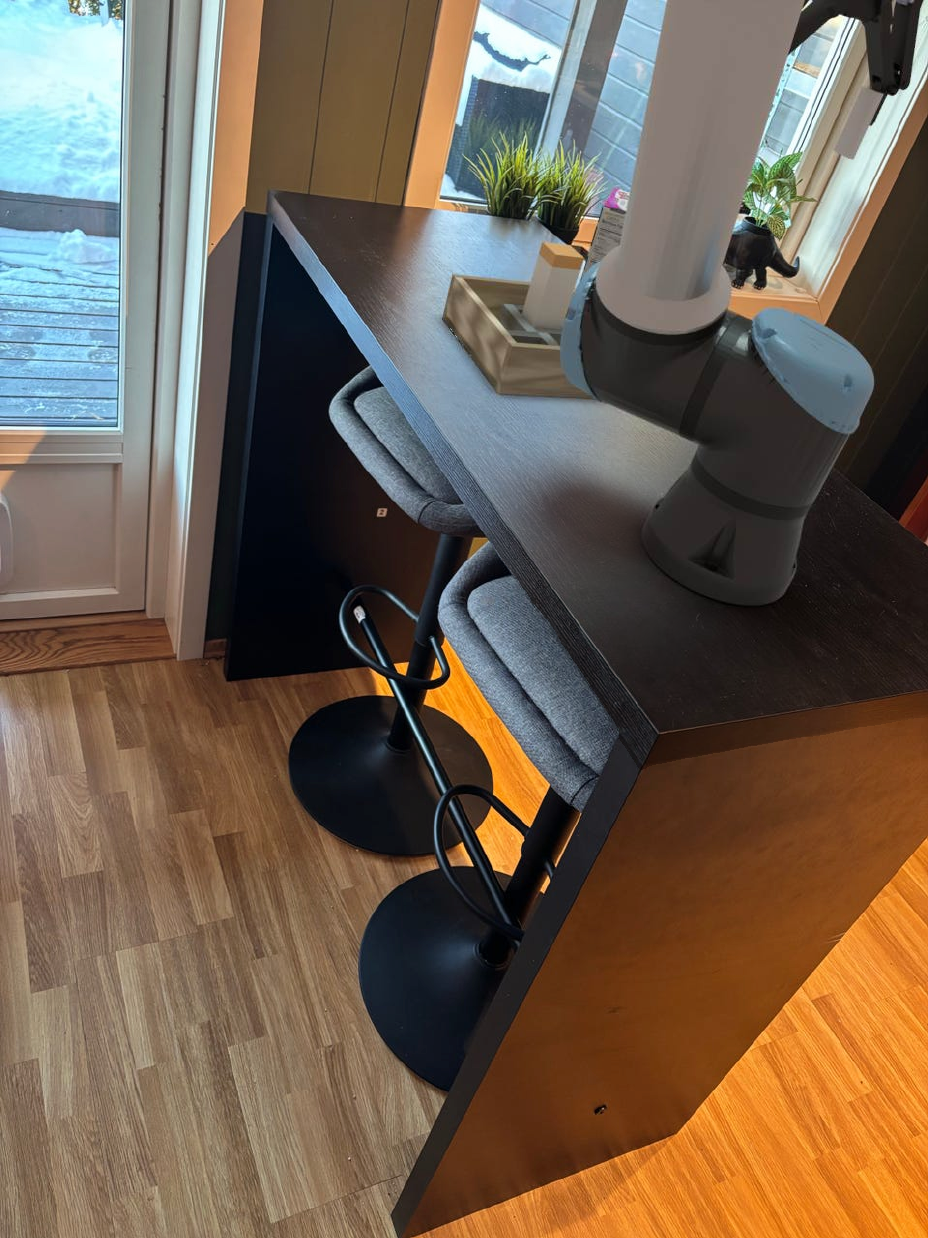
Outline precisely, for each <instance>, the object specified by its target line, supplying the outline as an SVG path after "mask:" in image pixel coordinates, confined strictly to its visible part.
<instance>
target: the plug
mask: <svg viewBox="0 0 928 1238" xmlns="http://www.w3.org/2000/svg"><path fill="white" fill-rule="evenodd" d="M584 259H585V257H583V255H581V253H579V251H577V250H576V249H575V248H574V247H573V246H572V245H570V244H563V243H557V242H556V243H555V242H546V241H542V242H541V245H540V248H539V251H538V256H537V259H536V262H535V266H534V269H533V273H532V276H531V280H530V282H531V283H530V286H529V290H528V293H527V297H526V300H525V304H524V307H523V311H522V315H523V316H524V318H525V319H526V320H527V321H528V322H529V323H530V324H531V325H532V327H541V328H553V329H562V326H563V323H564V320H565V317H566V314H567V311H568V307H569V304H570V301H571V298H572V295H573V292H574V288H575V289H576V284H577V281H578V279H579V276H580V272H581V269H582V266H583V262H584Z"/></svg>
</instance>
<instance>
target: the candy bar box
mask: <svg viewBox="0 0 928 1238" xmlns="http://www.w3.org/2000/svg"><path fill="white" fill-rule="evenodd" d="M629 195H630V191H627V190H626V191H625V190H624V189H622V188H617V187H614V188H613V189H612V190H611V193H610V194H609V196H608V197H607V198H606V200H605V201H604V203H603V204H602V207H601V209H600V210H601V211H600V213H599V217H598V220H597V223H596V227H595V229H594V232H593V236H592V240H591V243H590V247H589V249H588V252H587V256H586V259H585V263H584V267H583V268H582V269H583V270H582V272H581V276H580V279H579V281H580V280H581V279H582V277H583V276H584V275H585V273H586V272H587V271H588V270H589V269H590V268H591V267H592V266H593V265H594V264H596V263H598V262H599V261H602V259H603V258H604V257H605V256H606V255H607V254H608V253H609V252H610V251H611V250H613V249H614V248H615V247H617V246H619V245H620V242H621V236H622V231H623V226H624V221H625V216H626V210H627V205H628V200H629Z"/></svg>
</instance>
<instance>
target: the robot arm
mask: <svg viewBox="0 0 928 1238" xmlns="http://www.w3.org/2000/svg"><path fill="white" fill-rule="evenodd" d="M809 1H810V0H666V3H665V9H664V14H663V19H662V24H661V30H660V34H659V35H660V36H659V40H658V44H657V50H656V54H655V55H656V56H655V61H654V64H653V65H654V66H653V71H652V75H651V81H650V85H649V91H648V98H647V102H646V107H645V113H644V118H643V122H642V123H643V124H642V127H641V131H640V132H641V134H640V139H639V144H638V149H637V153H636V154H637V155H636V158H635V165H634V170H633V175H632V179H631V185H630V190H629V192H630V195H629V200H628V205H627V210H626V216H625V221H624V226H623V231H622V236H621V242H620V245H619V246H617V247H615V248H614V249H613V250H611V251H610V252H609V253H608V254H607V255H606V256H605V257H604V258H603V259H602V261H599V262H598V263H596V264H594V265H593V266H592V267H591V268H590V269H589V270H588V271H587V272H586V273H585V275H584V276H583V277H582V279H581V278H580V279H581V280H580V279H579V283H578V284H577V286H576V287H575V292H574V294H573V296H572V299H571V301H570V304H569V313H568V316H567V318H566V319H565V320H564V323H563V328H562V334H561V342H560V359H561V365H562V369H563V372H564V374H565V376H566V378H567V379H568V380H569V382H570V383H571V384H573V385H574V386H575V387H577V388H579V389H581V390H583V391H584V392H586V393H588V394H590V395H591V396H592V397H593V398H594V399H595V400H596V401H598V402H600V403H604V404H607V405H609V406H612V407H615V408H617V409H618V410H620V411H623V412H625V413H627V414H630V415H632V416H635V417H636V418H639V419H641V420H642V421H643V420H644V421H645V422H647V423H650V424H652V425H655V426H657V427H658V428H661V429H663V430H665V431H668V432H669V433H672V434H674V435H676V436H679V437H681V438H683V439H685V440H687V441H689V442H691V443H694V444H696V445H697V447H696V451H695V454H694V455H693V458H692V460H691V462H690V464H689V466H688V468H687V469H686V470H685V471H684V472H683V474H681V475H680V477H678V479H677V480H676V481H675V482H674V483H673V484H672V486H671V487H670V488H669V489H668V491H667V492H665V494H664V497H662V498H660V499H659V500H657V501H656V502H655V504H654V505H653V506H652V507H651V508H650V511H649V512H648V514H647V517H646V520H645V522H644V524H643V526H642V529H641V534H640V536H641V543H642V545H643V547H644V550H645V552H646V553H647V555H648V556H649V558H650V559H651V560H652V561H653V563H655V564H656V565H657V567H659V569H660V570H662V572H664V573H665V574H667V575H668V576H669V577H670V578H672V579H673V580H674V581H676V582H678V583H679V584H680V585H682V586H684V587H686V588H688V589H690V590H692V591H694V592H695V593H698V594H701V595H702V596H705V597H707V598H710V599H713V600H716V601H719V602H723V603H727V604H732V605H739V606H749V607H750V606H763V605H768V604H771V603H774V602H776V601H778V600H779V599H780V598H781V597H783V596H784V595H785V593H786V591H787V589H788V587H789V586H790V584H791V582H792V580H793V579H794V577H795V575H796V571H797V565H798V559H797V553H798V549H799V546H800V542H801V539H802V534H803V529H804V523H805V522H804V521H805V519H806V516H807V515H808V513H809V510H810V509H811V507H812V505H813V503H814V501H815V500H816V498H817V496H818V495H819V493H820V491H821V489H822V487H823V485H824V483H826V482H825V481H826V480H827V478H828V476H829V474H830V472H831V471H832V468H833V467H834V466H835V463H836V461H837V459H838V457H839V456H840V453H842V452H841V451H842V450H843V448H844V446H845V445H846V442H847V440H848V439H849V437H850V435H851V434H854V433H855V431H856V430H857V429H858V427H859V425H860V421H861V420H860V419H861V417H862V414H863V412H864V411H865V408H866V406H867V404H868V402H869V401H870V398H871V396H872V393H873V391H874V387H875V377H874V373H873V370H872V367H871V365H870V363H869V362H868V361H867V360H866V358H865V357H864V356H863V354H861V352H860V351H859V350H858V349H857V348H856V347H855V346H853V344H852V343H851V342H849V341H848V340H846V339H845V338H844V337H843V336H841V335H840V334H838V333H836V332H835V331H833V330H832V329H831V328H829V327H827V326H826V325H824V324H822V323H820V322H818V321H817V320H814V319H812V318H810V317H808V316H806V315H804V314H801V313H798V312H794V313H793V312H792V311H789V310H787V309H785V308H782V307H781V308H780V307H767V308H762V310H760V311H759V312H758V313H757V314H755V315H754V317H753V318H752V319H750V318H748V317H746V316H744V315H742V314H740V313H737V312H735V311H732V310H730V309H729V305H730V302H731V299H732V291H733V289H732V281H731V277H730V276H729V273H728V272H727V270H726V268H725V267H724V266H723V265H724V262H725V258H726V255H727V252H728V248H729V246H730V242H731V239H732V235H733V232H734V229H735V226H736V223H737V219H738V216H739V213H740V211H741V206H742V204H743V203H742V202H743V201H744V197H745V193H746V190H747V188H748V184H749V182H750V181H749V180H750V177H751V174H752V172H753V167H754V165H755V161H756V158H757V156H758V153H759V149H760V145H761V142H762V139H763V136H764V134H765V133H764V132H765V130H766V125H767V122H768V120H769V117H770V113H771V111H772V106H773V103H774V100H775V97H776V94H777V91H778V87H779V85H780V81H781V78H782V77H783V73H784V71H785V70H784V68H785V66H786V62H787V60H788V59H787V58H788V57H789V56H790V55H791V54H792V53H793V52H795V50H797V49H798V47H800V46H801V45H802V44H803V43H805V41H807V40H808V39H809V38H811V36H812V35H814V33H816V32H817V31H818V30H819V29H821V28H822V27H823V26H824V25H825V24H826V23H827V22H828V21H829V20H831V19H834V18H837V17H839V16H842V17H845V18H847V19H855V20H857V21H860V22H861V24H862V26H863V27H864V33H865V45H866V54H867V57H866V58H867V63H868V64H867V65H868V75H869V78H868V79H869V85H870V87H868V86H864V85H862V86H861V87H860V90H859V91H858V94H857V96H856V98H855V102H854V103H853V106H852V107H851V110H850V111H849V115H848V117H847V118H846V121H845V123H844V125H843V128H842V130H841V132H840V135H839V137H838V139H837V141H836V144H835V145H834V148H833V150H832V151H833V152H835V153H837V154H839V155H841V156H843V157H845V158H846V159H849V160H853V161H854V159H855V157H856V156H857V153H858V151H859V148H860V147H861V144H862V142H863V140H864V138H865V135H866V134H867V132H868V129H869V127H872V125H874V123H875V122H876V120H877V118H878V115H879V114H880V111H881V109H882V107H883V105H884V103H885V101H886V99H887V97H888V96H891V97H894V96H896V95H897V94H898V92H899V91H905V90H907V89H908V88H909V87H910V85H911V80H912V79H911V78H912V71H913V65H914V58H915V50H916V44H917V43H916V42H917V37H918V30H919V24H920V23H919V21H920V15H921V8H922V6H923V3H924V1H925V0H896V1H895V4H894V8H893V2H894V0H811V3H810V4H808V3H809ZM807 4H808V5H807ZM806 5H807V6H806Z"/></svg>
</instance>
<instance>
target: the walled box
mask: <svg viewBox="0 0 928 1238" xmlns="http://www.w3.org/2000/svg"><path fill="white" fill-rule="evenodd" d="M530 283H531V281H530V282H529V281H521V280H511V279H502V278H495V277H494V278H492V277H484V276H483V277H482V276H472V275H466V274H465V275H464V274H457V273H456V274H455V273H452V275H451V279H450V283H449V287H448V290H447V291H448V293H447V297H446V300H445V304H444V308H443V309H444V310H443V311H442V312H443V313H442V317H441V319H442V318H443V319H442V321H443V320H444V321H445V322H446V323H445V322H444V321H443V322H444V323H445V324H447V325H448V326H449V327H450V328H451V329H452V331H453V332H454V334H455V335H456V336H457V338H458V339H459V340H460V342H461V343H462V344H463V346H464V347H465V348H464V347H463V346H462V347H463V348H464V350H465V349H466V350H467V351H466V350H465V351H466V353H467V354H468V353H469V354H470V355H471V356H470V355H469V354H468V355H469V356H470V358H471V357H472V358H471V359H472V360H473V362H474V361H475V362H474V363H475V364H476V365H477V368H479V370H480V371H481V373H482V374H483V375H484V376H485V378H486V379H487V380H488V382H489V383H490V384H491V386H492V387H493V388H494V390H495V391H496V393H497V394H499V395H512V396H513V395H516V396H533V397H553V398H554V397H555V398H569V399H570V398H574V399H594V398H593V397H592V396H591V395H590V394H588V393H586V392H584V391H583V390H581V389H579V388H577V387H575V386H574V385H573V384H571V383H570V382H569V380H568V379H567V378H566V376H565V374H564V372H563V369H562V365H561V359H560V342H561V334H562V329H553V328H541V327H532V325H531V324H530V323H529V322H528V321H527V320H526V319H525V318H524V316H523V315H522V311H523V307H524V304H525V300H526V297H527V293H528V290H529V286H530ZM575 289H576V287H575V288H574V292H575ZM574 292H573V294H574ZM572 296H573V295H572ZM571 299H572V298H571ZM568 313H569V307H568V311H567V314H566V317H565V319H566V318H567V316H568ZM447 325H446V326H447ZM448 326H447V327H448ZM449 327H448V328H449ZM562 328H563V326H562ZM452 331H451V332H452ZM454 334H453V335H454ZM455 335H454V336H455ZM457 338H456V339H457ZM458 339H457V340H458ZM460 342H459V343H460ZM461 343H460V344H461Z"/></svg>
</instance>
